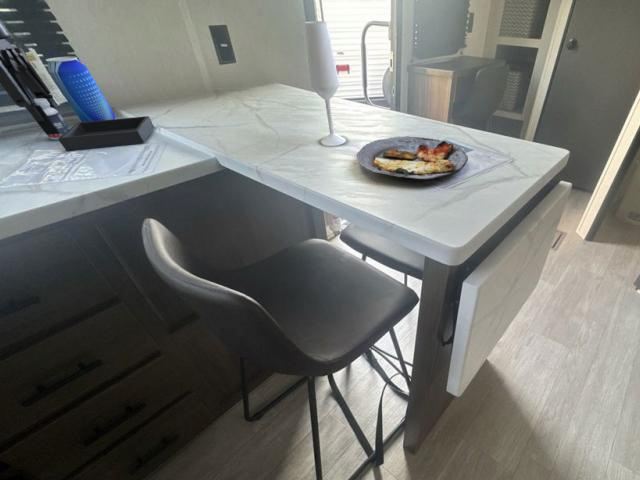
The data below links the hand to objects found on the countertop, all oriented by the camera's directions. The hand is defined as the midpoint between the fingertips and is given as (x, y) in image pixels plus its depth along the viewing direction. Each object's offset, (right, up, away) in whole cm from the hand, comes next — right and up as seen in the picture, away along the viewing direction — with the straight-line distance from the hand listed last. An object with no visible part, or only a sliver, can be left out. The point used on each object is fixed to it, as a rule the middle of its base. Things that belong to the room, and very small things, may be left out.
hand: (57, 130), depth 86 cm
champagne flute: (+76, -4, -2) cm, 76 cm away
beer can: (+4, +6, +9) cm, 11 cm away
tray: (+15, -2, 0) cm, 15 cm away
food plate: (+97, -15, -12) cm, 99 cm away
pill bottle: (0, -1, +1) cm, 2 cm away
